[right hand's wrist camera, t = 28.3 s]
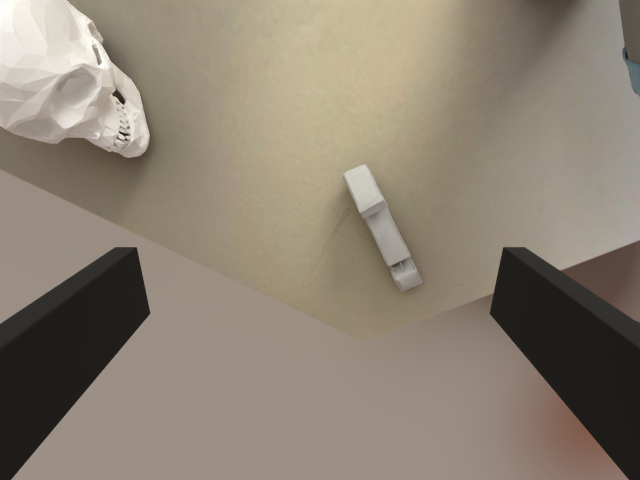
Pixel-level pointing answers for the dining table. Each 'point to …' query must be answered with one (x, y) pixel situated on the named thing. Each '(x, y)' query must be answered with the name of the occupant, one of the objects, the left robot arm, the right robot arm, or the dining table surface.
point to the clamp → (382, 226)
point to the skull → (64, 80)
